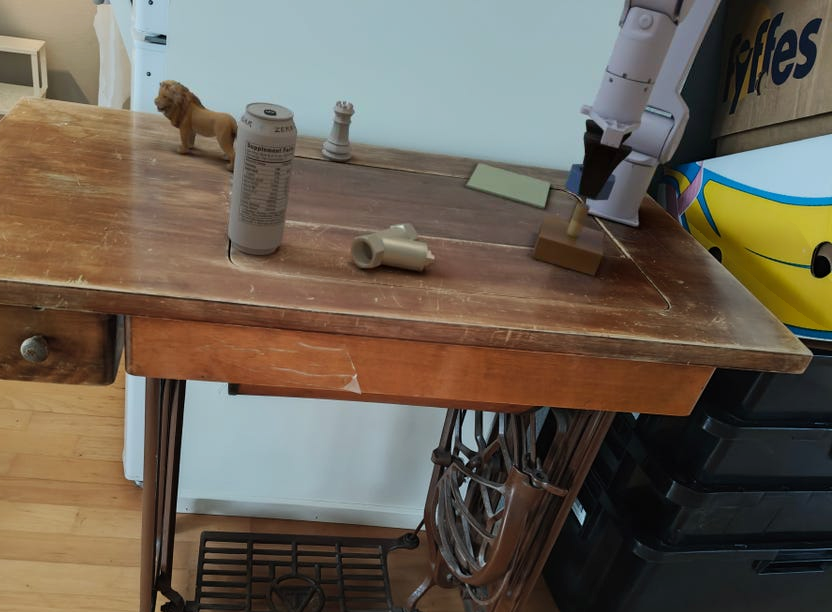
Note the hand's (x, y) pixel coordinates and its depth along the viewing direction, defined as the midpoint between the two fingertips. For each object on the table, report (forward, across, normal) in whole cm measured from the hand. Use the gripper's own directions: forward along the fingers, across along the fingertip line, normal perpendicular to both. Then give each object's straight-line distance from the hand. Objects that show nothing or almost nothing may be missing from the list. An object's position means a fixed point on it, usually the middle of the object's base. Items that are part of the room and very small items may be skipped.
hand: (587, 188), depth 90 cm
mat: (+9, -20, -10) cm, 24 cm away
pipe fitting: (+9, +19, -19) cm, 28 cm away
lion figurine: (+9, +4, -51) cm, 52 cm away
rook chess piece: (+9, -11, -36) cm, 39 cm away
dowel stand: (+9, +1, 0) cm, 9 cm away
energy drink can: (+9, +24, -34) cm, 42 cm away
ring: (0, 0, 0) cm, 0 cm away
